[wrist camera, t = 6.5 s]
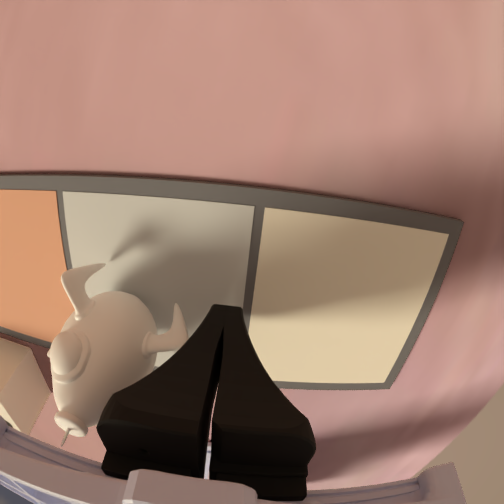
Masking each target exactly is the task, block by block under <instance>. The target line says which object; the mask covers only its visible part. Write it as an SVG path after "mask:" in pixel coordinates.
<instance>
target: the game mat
mask: <svg viewBox="0 0 504 504" xmlns="http://www.w3.org/2000/svg"><path fill="white" fill-rule="evenodd" d="M463 223H464V222H463V221H462V220H459V219H455V218H450V217H445V216H441V215H436V214H431V213H426V212H421V211H416V210H410V209H405V208H400V207H394V206H388V205H383V204H377V203H371V202H365V201H359V200H353V199H346V198H340V197H333V196H326V195H319V194H312V193H305V192H298V191H290V190H282V189H274V188H265V187H256V186H247V185H238V184H228V183H217V182H206V181H195V180H182V179H168V178H153V177H136V176H115V175H86V174H0V332H1V333H4V334H7V335H10V336H12V337H15V338H18V339H21V340H24V341H27V342H30V343H33V344H37V345H40V346H43V347H46V348H51V344H52V342H53V340H54V338H55V337H56V336H57V335H58V334H59V333H60V332H61V330H62V327H63V326H64V324H65V322H66V320H67V319H68V318H69V316H70V315H71V314H72V313H73V312H74V311H75V309H74V307H73V305H72V303H71V301H70V299H69V297H68V295H67V293H66V291H65V289H64V287H63V285H62V281H61V276H62V274H63V273H64V272H65V271H67V270H70V269H73V268H77V267H81V266H86V265H91V264H97V263H105V264H106V265H105V267H103V268H102V269H101V270H99V271H97V272H96V273H94V274H93V275H92V276H91V277H89V278H88V280H87V281H86V283H85V291H86V294H87V295H88V297H89V298H91V297H93V296H95V295H97V294H100V293H104V292H108V291H121V292H126V293H129V294H132V295H135V296H136V297H138V298H139V299H140V300H141V301H142V302H143V303H144V304H145V306H146V307H147V308H148V309H149V311H150V313H151V314H152V316H153V319H154V321H155V324H156V328H157V333H158V335H160V334H164V333H166V332H168V331H169V330H170V328H171V326H172V322H173V315H174V305H175V303H177V304H178V305H179V307H180V310H181V312H182V315H183V318H184V321H185V325H186V328H187V332H188V336H189V338H190V337H191V336H192V334H193V333H194V332H195V331H196V329H197V328H198V327H199V325H200V324H201V323H202V321H203V320H204V318H205V317H206V315H207V313H208V312H209V310H210V308H211V306H212V305H213V304H220V305H229V306H238V307H241V308H242V309H243V316H244V321H245V325H246V328H247V331H248V334H249V337H250V340H251V342H252V345H253V347H254V349H255V351H256V353H257V355H258V357H259V359H260V361H261V363H262V365H263V367H264V368H265V370H266V371H267V373H268V375H269V376H270V378H271V379H272V380H273V382H274V383H275V384H276V386H277V387H278V388H285V389H307V390H377V389H390V387H391V386H392V384H393V382H394V380H395V379H396V377H397V375H398V373H399V372H400V370H401V368H402V366H403V364H404V363H405V361H406V359H407V357H408V355H409V353H410V351H411V349H412V347H413V345H414V343H415V341H416V339H417V337H418V335H419V333H420V331H421V329H422V327H423V325H424V323H425V321H426V319H427V317H428V314H429V312H430V310H431V308H432V306H433V303H434V301H435V299H436V296H437V294H438V292H439V289H440V287H441V284H442V282H443V279H444V277H445V274H446V272H447V269H448V267H449V264H450V261H451V259H452V256H453V253H454V250H455V247H456V245H457V242H458V239H459V236H460V233H461V230H462V227H463ZM177 351H178V350H175V351H167V352H158V353H157V358H156V362H155V365H154V368H153V371H154V370H155V369H157V368H158V367H159V366H161V365H162V364H163V363H164V362H166V361H167V360H168V359H169V358H170V357H171V356H172V355H174V354H175V353H176V352H177ZM153 371H152V372H153Z"/></svg>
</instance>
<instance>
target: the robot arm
mask: <svg viewBox="0 0 504 504" xmlns="http://www.w3.org/2000/svg"><path fill="white" fill-rule="evenodd" d="M218 383H219V384H218ZM217 387H218V390H217ZM216 391H217V396H216V402H215V407H214V413H213V418H212V436H211V442H208V438H209V430H210V422H211V414H212V408H213V403H214V399H215V395H216ZM96 428H97V432H98V434H99V436H100V438H101V440H102V442H103V444H104V446H105V448H106V450H107V451H106V454H105V457H104V460H103V463H100V462H97V461H93V460H90V459H87V458H84V457H81V456H79V455H76V454H73V453H70V452H67V451H65V450H62V449H60V448H57V447H54V446H52V445H50V444H47V443H45V442H42V441H40V440H38V439H35V438H33V437H31V436H29V435H26V434H24V433H22V432H20V431H18V430H16V429H14V428H12V427H10V426H8V425H7V423H6V421H5V420H4V418H3V417H2V416H1V415H0V484H2V485H3V486H5V487H6V488H8V489H10V490H11V491H13V492H15V493H16V494H18V495H20V496H22V497H23V498H25V499H27V500H29V501H31V502H32V503H35V504H466V501H465V497H464V494H463V490H462V487H461V484H460V481H459V478H458V475H457V472H456V469H455V466H454V463H453V462H449V463H446V464H442V465H438V466H433V467H431V468H428V469H426V470H425V471H423V472H422V473H421V474H420V475H419V476H418V477H416V478H412V479H407V480H401V481H396V482H390V483H384V484H377V485H369V486H361V487H352V488H341V489H328V490H307V487H306V477H307V475H308V469H307V465H308V463H309V461H310V460H311V458H312V457H313V455H314V453H315V450H316V443H315V438H314V434H313V431H312V428H311V425H310V423H309V420H308V418H306V417H305V416H304V415H303V414H302V413H301V412H300V411H299V410H298V409H297V408H296V407H294V406H293V404H292V403H291V402H290V401H289V400H288V399H287V398H286V397H285V396H284V395H283V393H282V392H281V391H280V389H279V388H278V387H277V386H276V384H275V383H274V382H273V380H272V379H271V378H270V376H269V375H268V373H267V371H266V370H265V368H264V367H263V365H262V363H261V361H260V359H259V357H258V355H257V353H256V351H255V349H254V347H253V345H252V342H251V340H250V337H249V334H248V331H247V328H246V325H245V321H244V316H243V309H242V308H241V307H238V306H229V305H220V304H213V305H212V306H211V308H210V310H209V312H208V313H207V315H206V317H205V318H204V320H203V321H202V323H201V324H200V325H199V327H198V328H197V329H196V331H195V332H194V333H193V334H192V336H191V337H190V338H189V339H188V340H187V341H186V342H185V343H184V345H183V346H182V347H181V348H180V349H179V350H178V351H177V352H176V353H175V354H174V355H172V356H171V357H170V358H169V359H168V360H167V361H166V362H164V363H163V364H162V365H161V366H159V367H158V368H157V369H155V370H154V371H153V372H151V373H150V374H148V375H147V376H145V377H143V378H142V379H140V380H139V381H137V382H135V383H134V384H132V385H130V386H128V387H126V388H124V389H122V390H120V391H118V392H115V393H113V394H112V396H111V397H110V399H109V400H108V402H107V404H106V405H105V407H104V409H103V411H102V414H101V416H100V419H99V421H98V424H97V427H96ZM204 475H205V479H204Z"/></svg>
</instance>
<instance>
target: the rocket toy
mask: <svg viewBox="0 0 504 504" xmlns="http://www.w3.org/2000/svg"><path fill="white" fill-rule="evenodd" d="M105 265H106V264H105V263H97V264H91V265H86V266H81V267H77V268H73V269H70V270H67V271H65V272H64V273H63V274H62V276H61V281H62V285H63V287H64V289H65V291H66V293H67V295H68V297H69V299H70V301H71V303H72V305H73V307H74V309H75V311H74V312H73V313H72V314H71V315H70V316H69V318H68V319H67V320H66V322H65V324H64V326H63V327H62V330H61V332H60V333H59V334H58V335H57V336H56V337H55V338H54V340H53V342H52V344H51V348H50V350H49V351H48V353H47V356H48V357H49V358H50V362H51V374H52V384H53V393H54V398H55V401H56V404H57V407H58V409H59V411H58V412H56V414H55V417H54V418H55V421H56V423H57V424H58V426H59V427H60V428H62V429H63V430H64V431H66V433H65V435H64V438H63V440H62V443H61V446H63V444H64V443H65V440H66V438H67V436H68V434H71V435H74V436H77V437H84V436H86V434H87V432H88V428H87V427H92V426H95V425H97V424H98V421H99V419H100V416H101V414H102V411H103V409H104V407H105V405H106V404H107V402H108V400H109V399H110V397H111V396H112V394H113V393H115V392H118V391H120V390H122V389H124V388H126V387H128V386H130V385H132V384H134V383H135V382H137V381H139V380H140V379H142V378H143V377H145V376H147V375H148V374H150V373H151V372H152V371H153V368H154V365H155V362H156V358H157V353H158V352H167V351H175V350H179V349H180V348H181V347H182V346H183V345H184V343H185V342H186V341H187V340H188V339H189V336H188V332H187V328H186V325H185V321H184V318H183V315H182V312H181V310H180V307H179V305H178V304H177V303H175V305H174V315H173V322H172V326H171V328H170V330H169V331H168V332H166V333H164V334H160V335H158V333H157V328H156V324H155V321H154V319H153V316H152V314H151V313H150V311H149V309H148V308H147V307H146V306H145V304H144V303H143V302H142V301H141V300H140V299H139V298H138V297H136V296H135V295H132V294H129V293H126V292H121V291H108V292H104V293H100V294H97V295H95V296H93V297H91V298H89V297H88V295H87V294H86V291H85V283H86V281H87V280H88V278H89V277H91V276H92V275H93V274H94V273H96V272H97V271H99V270H101V269H102V268H103V267H105Z"/></svg>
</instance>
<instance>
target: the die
mask: <svg viewBox="0 0 504 504" xmlns="http://www.w3.org/2000/svg"><path fill="white" fill-rule="evenodd" d="M50 394H51V391H50V389H49V387H48V385H47V383H46V381H45V379H44V377H43V375H42V373H41V370H40V368H39V366H38V364H37V362H36V359H35V357H34V355H33V352H32V350H31V348H29V347H26V346H24V345H21V344H18V343H15V342H12V341H9V340H7V339H4V338H1V337H0V415H1V416H2V417H3V418H4V420H5V421H6V423H7V425H8V426H10V427H12V428H14V429H16V430H18V431H20V432H22V433H24V434H26V435H29V434H30V432H31V430H32V428H33V426H34V424H35V422H36V420H37V418H38V417H39V415H40V413H41V411H42V409H43V407H44V405H45V403H46V401H47V399H48V398H49V396H50Z"/></svg>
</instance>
